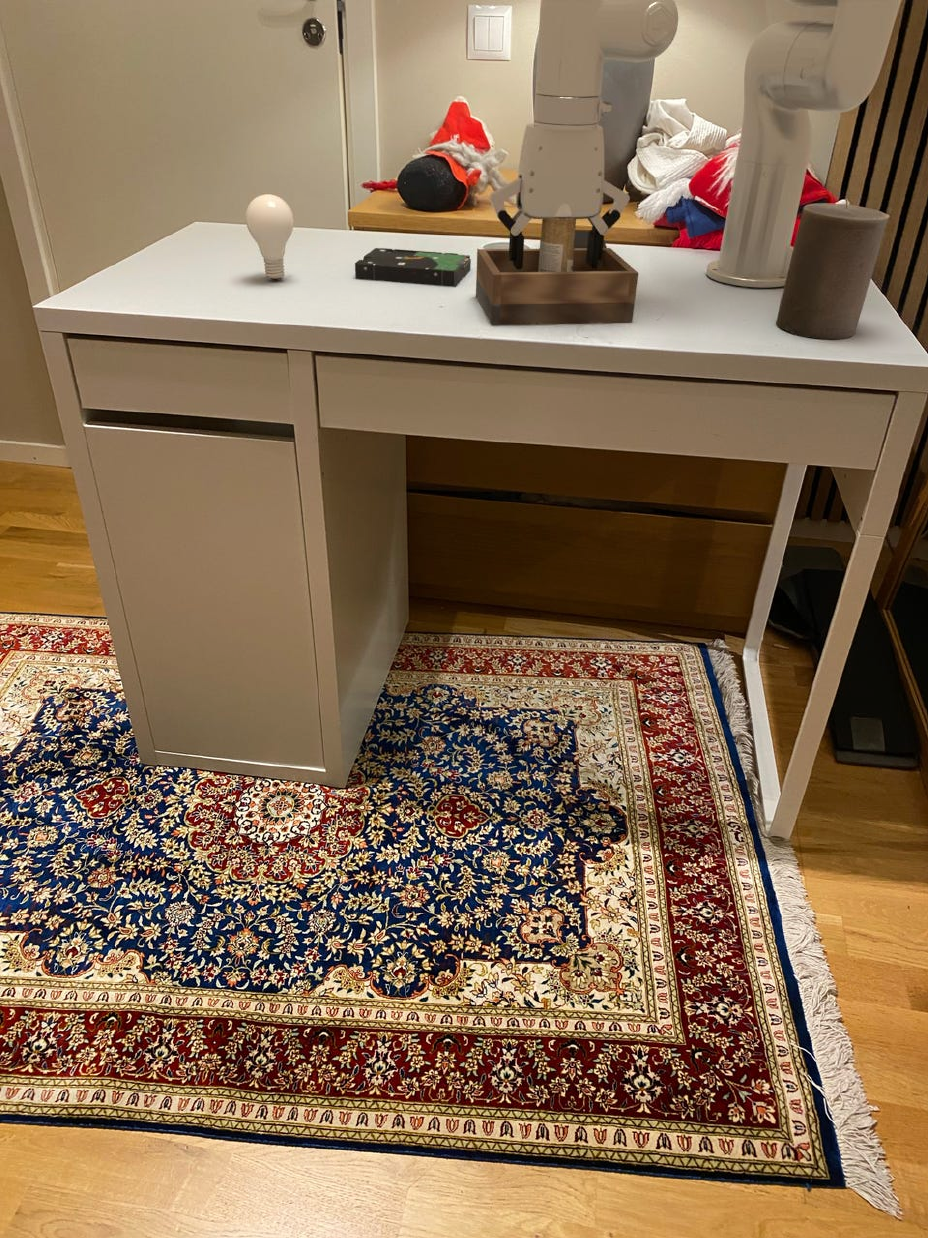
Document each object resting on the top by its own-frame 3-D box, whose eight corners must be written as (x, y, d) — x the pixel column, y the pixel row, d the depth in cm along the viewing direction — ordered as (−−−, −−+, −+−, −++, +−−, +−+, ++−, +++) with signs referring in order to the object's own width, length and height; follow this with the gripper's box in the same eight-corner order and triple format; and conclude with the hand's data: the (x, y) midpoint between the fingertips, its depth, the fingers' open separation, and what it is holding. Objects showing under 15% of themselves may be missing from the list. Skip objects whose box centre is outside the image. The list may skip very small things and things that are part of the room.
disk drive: (354, 284, 127) (456, 290, 125) (353, 263, 126) (457, 269, 123) (375, 266, 136) (471, 272, 133) (374, 246, 134) (471, 252, 132)
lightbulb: (273, 271, 129) (265, 188, 123) (307, 278, 126) (301, 193, 120) (242, 281, 124) (232, 194, 118) (278, 288, 122) (269, 200, 116)
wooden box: (605, 293, 123) (610, 247, 120) (632, 322, 113) (638, 272, 109) (475, 295, 121) (477, 249, 118) (491, 325, 111) (493, 274, 107)
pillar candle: (781, 336, 109) (813, 203, 101) (771, 313, 117) (800, 188, 109) (863, 343, 108) (902, 209, 100) (847, 319, 116) (883, 193, 108)
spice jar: (576, 310, 116) (587, 198, 109) (549, 315, 114) (558, 201, 107) (555, 302, 120) (563, 192, 112) (527, 306, 117) (534, 194, 110)
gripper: (629, 109, 108) (612, 258, 118) (487, 108, 106) (482, 259, 116) (647, 116, 102) (628, 273, 112) (498, 115, 100) (492, 274, 110)
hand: (554, 266), depth 114 cm, fingers open, 9 cm apart
